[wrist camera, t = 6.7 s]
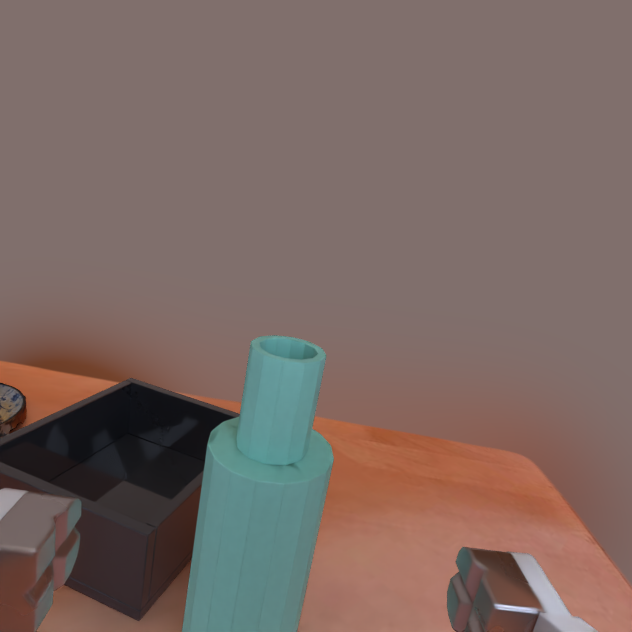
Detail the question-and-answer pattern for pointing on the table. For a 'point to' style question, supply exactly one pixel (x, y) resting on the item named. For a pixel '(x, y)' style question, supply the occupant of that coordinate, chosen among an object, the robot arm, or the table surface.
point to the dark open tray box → (121, 484)
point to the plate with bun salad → (11, 408)
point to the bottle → (261, 497)
